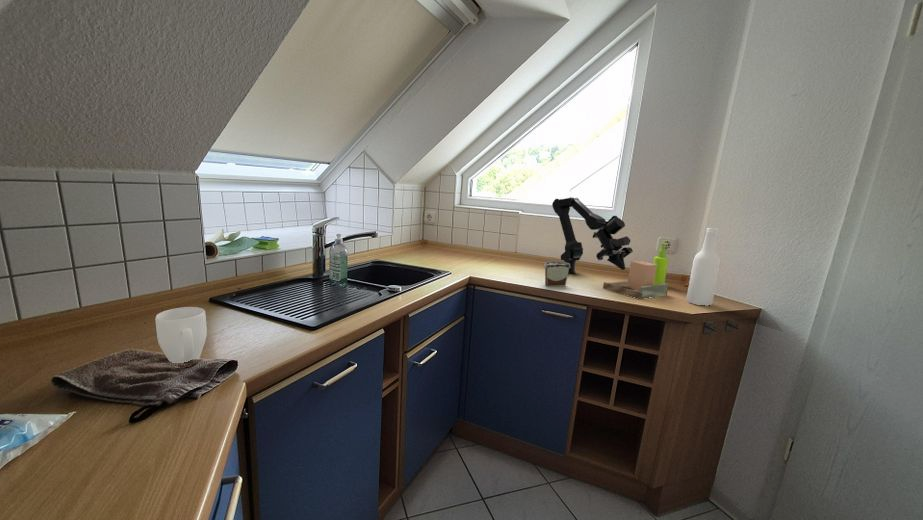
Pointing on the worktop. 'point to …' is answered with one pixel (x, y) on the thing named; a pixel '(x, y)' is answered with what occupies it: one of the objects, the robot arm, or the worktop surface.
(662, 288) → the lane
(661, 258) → the soap dispenser
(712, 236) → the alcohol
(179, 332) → the mug
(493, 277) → the worktop surface
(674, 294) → the worktop surface
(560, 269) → the food container
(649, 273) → the block
